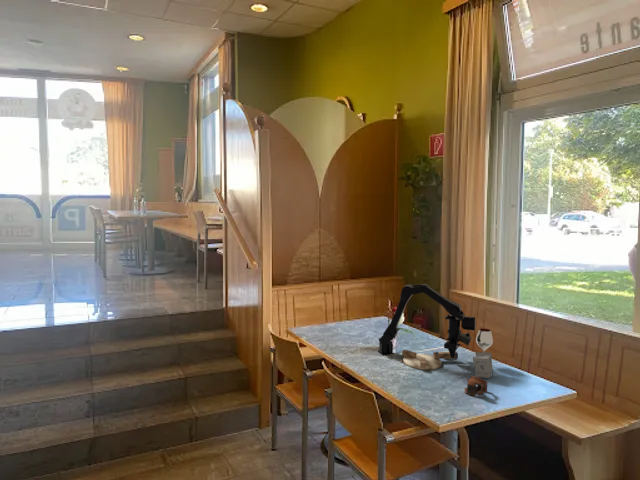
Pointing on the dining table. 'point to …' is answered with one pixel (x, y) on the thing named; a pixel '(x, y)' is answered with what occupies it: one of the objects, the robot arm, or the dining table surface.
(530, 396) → the dining table surface
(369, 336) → the dining table surface
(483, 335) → the wineglass
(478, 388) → the reddish brown arched figure
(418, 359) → the stool seat
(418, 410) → the dining table surface
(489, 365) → the incense holder
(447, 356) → the folding leg
